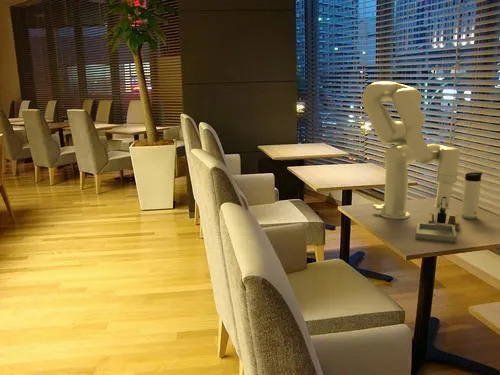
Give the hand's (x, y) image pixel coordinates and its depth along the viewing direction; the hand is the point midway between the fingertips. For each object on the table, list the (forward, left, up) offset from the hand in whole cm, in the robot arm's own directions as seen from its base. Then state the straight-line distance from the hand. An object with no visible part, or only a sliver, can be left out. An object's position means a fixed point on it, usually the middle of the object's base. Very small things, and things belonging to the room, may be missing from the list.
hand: (440, 219), depth 196 cm
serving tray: (-2, -14, -3) cm, 14 cm away
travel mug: (+12, +17, -3) cm, 21 cm away
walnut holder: (+1, +2, -3) cm, 3 cm away
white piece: (0, 0, -1) cm, 1 cm away
